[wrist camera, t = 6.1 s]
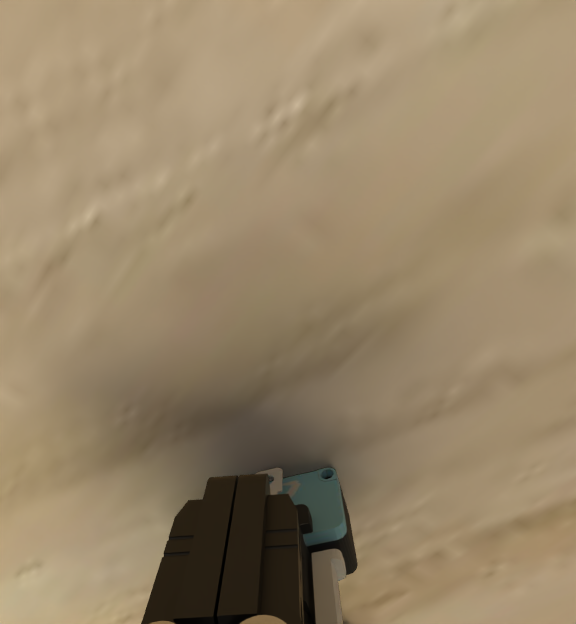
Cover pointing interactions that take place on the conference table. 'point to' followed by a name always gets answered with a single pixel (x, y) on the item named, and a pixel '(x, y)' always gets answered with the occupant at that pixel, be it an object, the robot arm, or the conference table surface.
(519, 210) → the conference table surface
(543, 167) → the conference table surface
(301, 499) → the push button
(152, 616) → the robot arm
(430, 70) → the conference table surface
